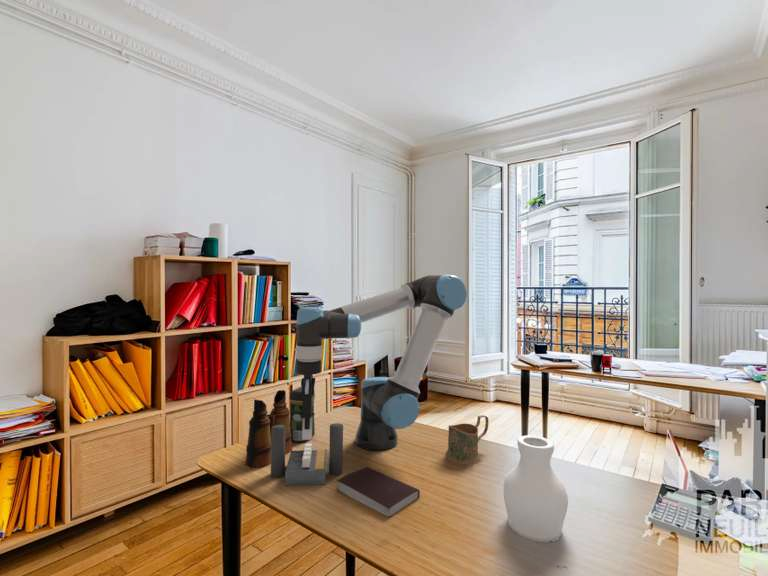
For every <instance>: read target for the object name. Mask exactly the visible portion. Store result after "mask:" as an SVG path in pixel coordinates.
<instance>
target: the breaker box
mask: <svg viewBox="0 0 768 576" xmlns="http://www.w3.org/2000/svg"><path fill="white" fill-rule="evenodd" d="M303 454H304V450H301V449H300V450H292V451H291V452H290V453H289V457H288V461H287V464H286V466H285V475H284V480H285V481H284V486H285V487H292V486H295V487H296V486H317V485H320V486H321V485H325V484H326V474H327V456H328V455H327V449H312V454H311V460H310V467H303V468H302V459H303Z"/></svg>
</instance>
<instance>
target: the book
mask: <svg viewBox="0 0 768 576" xmlns="http://www.w3.org/2000/svg"><path fill="white" fill-rule="evenodd" d="M336 481H337V483H338V484H337V488H336V490H337V491H338V492H340V493H341V494H344V495H346V496H347V497H348V498H349V497H350V498H351V499H353V500H355V501H357V502H360V503H362V504H363V505H366V507H370V508H371V509H372V510H375V511H377V512H379V513H380V514H382V515H384V516H386V517H387V518H389V519H390V518H391V517H392V516H394V514H397V512H399V511H400V510H402V509H404V508H405V507H407V506H408V505H409V504H411V503H412V502H414V501H415V500H417V499H420V492H421V491H420V489H418V488H416V487H414V486H412V485H410V484H407V483H406V482H404V481H403V482H402V481H400V480H398V479H396V478H394V477H391V476H389V475H386V474H385V473H382V472H380V471H378V470H376V469H373V468H371V467H368V466H365V467H363V468H361V469H358V470H354V471H353V472H351V473H348V474H346V475H344V476H342V477H340V478H338V479H336Z"/></svg>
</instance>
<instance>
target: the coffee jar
mask: <svg viewBox="0 0 768 576" xmlns="http://www.w3.org/2000/svg"><path fill="white" fill-rule="evenodd" d="M315 398H316V394H315V391H314V394H313V407H312V408H313V411H312V413H315ZM289 404H290V414H289V420H290V432H291V442H295V443H303V442H304V443H305V442H308V440H302V427H303V418H300V416H302V415H303V395H302V386H299V387H298V388H295V389H293V390H292V391H290V392H289ZM315 429H316V428H315V414H314V415H312V438H313V437H314V435H315V432H316V430H315Z"/></svg>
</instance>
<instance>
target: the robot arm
mask: <svg viewBox="0 0 768 576" xmlns="http://www.w3.org/2000/svg"><path fill="white" fill-rule="evenodd" d="M467 292H468V291H467V288H466V285H465V282H464V281H463V280H462V279H461V278H460V277H458V276H456V275H454V274H453V275H452V274H448V273H447V274H440V275H439V274H438V275H437V274H436V275H435V274H434V275H430V274H429V275H425V276H422V277H420V278H417V279H414V280H412V281H409V282H407V283H404V284H401V286H400V287H399V288H397V289H396V288H395V289H394V290H390V291H387V292H384V293H381V294H378V295H374V296H372V297H367V298H365V299H361V300H359V301H356V302H355V301H354V302H353V303H350V304H346V305H343V306H339V307H337V308H334V309H331V310H327V309H326V310H323V308H322V307H314V306H313V307H311V306H309V307H308V306H307V307H306V306H305V307H299V308H298V309H297V314H296V323H295V324H296V343H295V345H296V346H295V347H294V349H293V351H294V352H296V354H295V358H296V359H297V360H295V373H296V374H297V375H302V376H303V377H302V378H301V380H300V387H302V395H303V415H302V416H300V418H303V427H302V440H307V441H311V440H312V438H313V437H312V415H314V416H315V413H316V412H314V413H312V411H313V408H312V407H313V394H314V392H315V385H316V377H314V375H319V374H320V373H321V372H322V360H321V359H322V358H323V340H324V339H325V340H328V339H329V340H330V339H348V340H349V339H355V338H358V337H359V335H361V330H362V323H366V322H368V321H371V320H374V319H377V318H381V317H383V316H386V315H389V314H392V313H395V312H397V311H398V312H399V311H401V310H403V309H408V310H412V309H415V308H419V307H420V308H421V313H420V315H419V318H418V321H417V322H416V325H415V327H414V329H413V332H412V334H411V336H410V339H409V341H408V343H407V346H406V347H405V350H404V353H403V354H402V356H401V359H400V362H399V364H398V366H397V369H396V371H395V373H394V375H391V376H390V377H388V376H375V377H374V376H373V377H366V378H363V380H362V381H361V385H360V422H359V424H358V425H359V426H358V428H357V431H356V434H355V444H356V445H357V446H358V447H360V448H361V449H366V450H371V451H384V450H389V449H392V448H394V447H396V446H397V445H398V441H399V440H398V436H399V435H398V433H397V430H403V429H407V428H408V427H410V426H412V425H413V424H414V423H415V421H416V420H417V419H418V417H419V414H420V405H419V404H420V403H419V401H418V399H419V397H420V395H421V391H420V388H419V385H420V382H421V380H422V377H423V375H424V373H425V371H426V368H427V365H428V364H429V361H430V358H431V356H432V355H433V352H434V350H435V346H436V345H437V341H438V340H439V337H440V335H441V333H442V330H443V327H444V325H445V323H446V321H448V320H451V319H452V317H453V315H454V313H455V310H458V309H460V308H462V307H463V306H464V304H465V303H466V301H467V297H468V294H467Z"/></svg>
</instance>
